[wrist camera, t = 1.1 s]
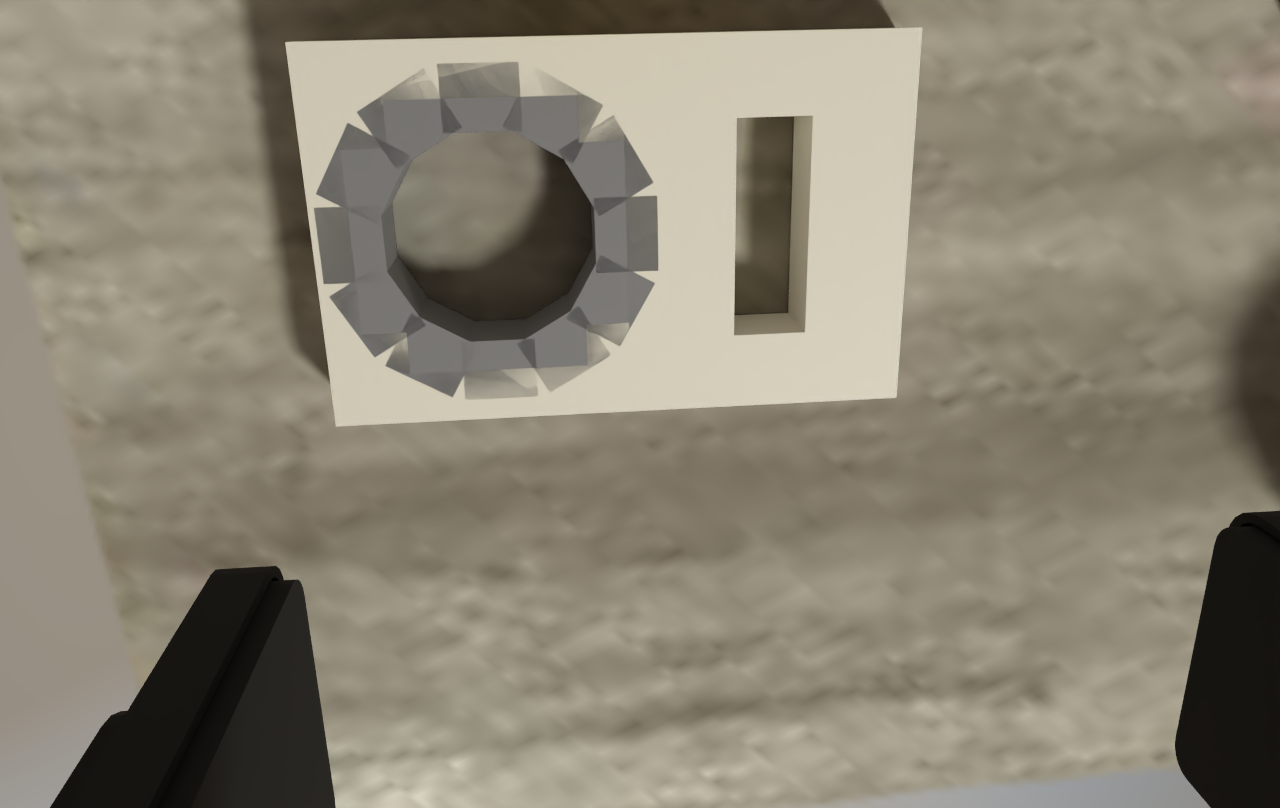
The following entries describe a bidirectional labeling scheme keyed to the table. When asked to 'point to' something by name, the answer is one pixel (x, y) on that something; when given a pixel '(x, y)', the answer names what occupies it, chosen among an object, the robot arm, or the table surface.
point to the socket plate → (616, 218)
